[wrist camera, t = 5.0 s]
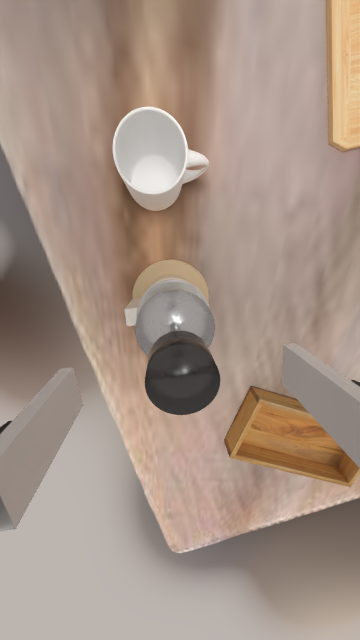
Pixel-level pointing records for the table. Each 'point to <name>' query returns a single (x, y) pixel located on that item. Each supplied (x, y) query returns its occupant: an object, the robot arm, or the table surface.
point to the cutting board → (343, 73)
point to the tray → (287, 439)
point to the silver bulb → (178, 351)
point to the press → (165, 284)
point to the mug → (154, 157)
